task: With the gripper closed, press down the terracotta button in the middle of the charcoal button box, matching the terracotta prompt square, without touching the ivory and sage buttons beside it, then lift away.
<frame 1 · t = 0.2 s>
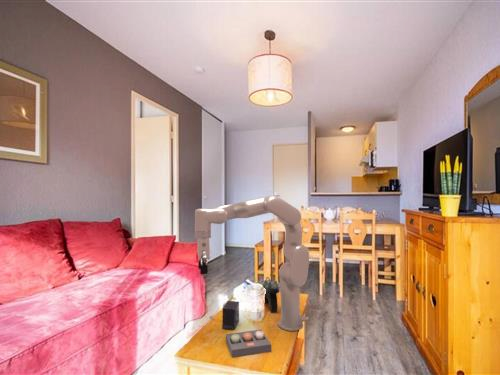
hand: (202, 271, 132), 31 cm above the table, tool pointing down, fingers open, 9 cm apart
sage button: (235, 339, 122), point 4 cm above the table, slide at 0.0 cm
terracotta button: (247, 337, 123), point 4 cm above the table, slide at 0.0 cm
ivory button: (259, 335, 125), point 4 cm above the table, slide at 0.0 cm
button box: (247, 346, 123), on the table
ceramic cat: (269, 307, 166), on the table
small box: (231, 325, 143), on the table
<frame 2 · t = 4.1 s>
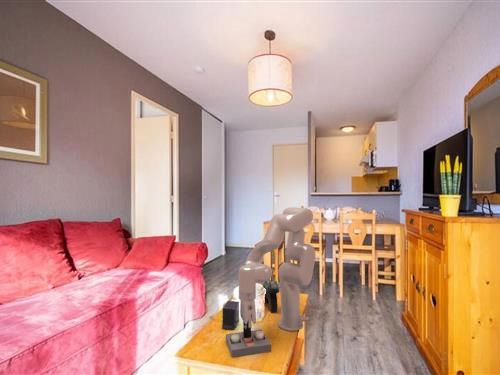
hand: (247, 337, 123), 4 cm above the table, tool pointing down, fingers closed
terracotta button: (247, 339, 123), point 3 cm above the table, slide at 1.1 cm
everything else where it was.
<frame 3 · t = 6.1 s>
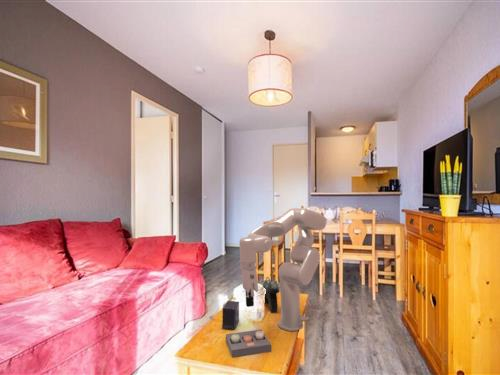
hand: (249, 305, 127), 16 cm above the table, tool pointing down, fingers closed
nothing on the table moved.
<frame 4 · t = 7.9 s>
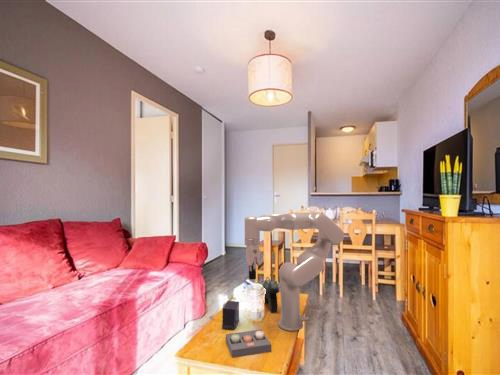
hand: (252, 279, 138), 25 cm above the table, tool pointing down, fingers closed
nothing on the table moved.
at the end: terracotta button slide at 1.2 cm; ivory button slide at 0.0 cm; sage button slide at 0.0 cm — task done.
